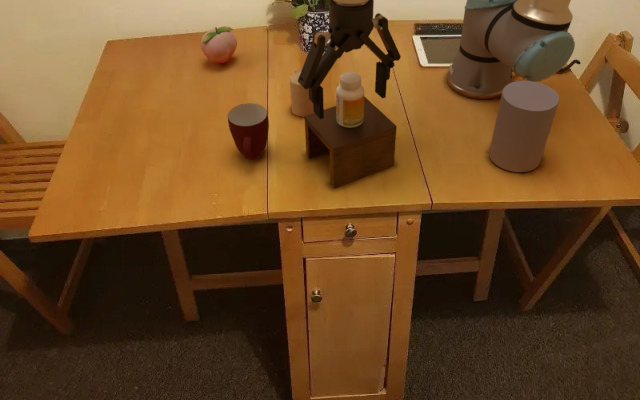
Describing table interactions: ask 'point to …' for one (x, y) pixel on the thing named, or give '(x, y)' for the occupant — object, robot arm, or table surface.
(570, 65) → the robot arm
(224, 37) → the decorative fruit
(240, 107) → the mug
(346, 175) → the shelf
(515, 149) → the container
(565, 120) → the table surface
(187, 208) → the table surface
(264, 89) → the table surface
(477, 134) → the table surface
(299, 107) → the candle
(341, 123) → the supplement bottle
